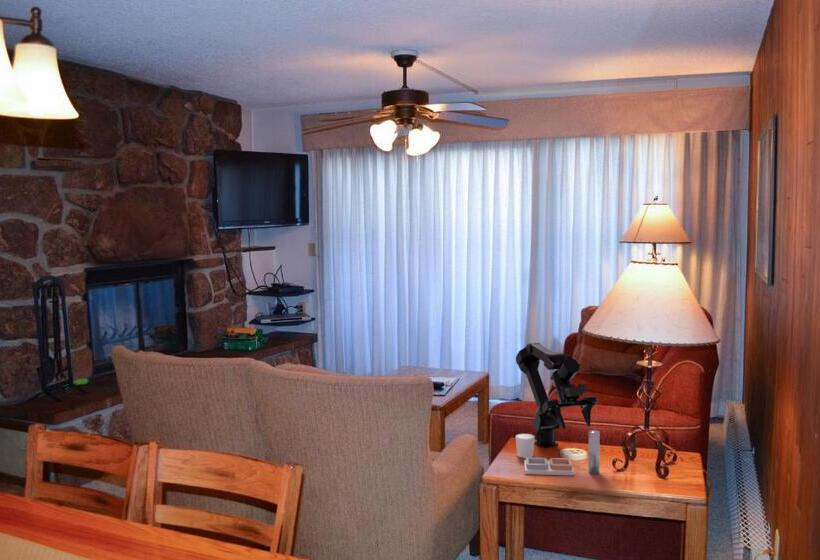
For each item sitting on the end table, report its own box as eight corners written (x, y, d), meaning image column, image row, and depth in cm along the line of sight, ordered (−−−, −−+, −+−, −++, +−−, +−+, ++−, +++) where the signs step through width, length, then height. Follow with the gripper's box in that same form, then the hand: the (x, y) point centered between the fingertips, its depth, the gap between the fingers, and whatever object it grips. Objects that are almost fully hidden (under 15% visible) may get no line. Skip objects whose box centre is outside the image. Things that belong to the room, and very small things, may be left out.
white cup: (536, 458, 259) (536, 439, 259) (516, 458, 260) (516, 439, 259) (533, 451, 266) (533, 433, 266) (514, 452, 266) (514, 433, 266)
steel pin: (593, 469, 248) (593, 429, 246) (601, 473, 245) (602, 432, 243) (585, 472, 246) (586, 431, 244) (594, 475, 243) (594, 434, 241)
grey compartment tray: (524, 463, 255) (524, 455, 254) (571, 464, 253) (571, 456, 253) (525, 474, 245) (525, 466, 245) (574, 475, 243) (574, 467, 243)
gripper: (547, 377, 249) (560, 420, 240) (596, 373, 253) (611, 415, 245) (536, 391, 258) (548, 433, 249) (584, 387, 262) (598, 428, 254)
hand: (576, 427), depth 249 cm, fingers open, 9 cm apart
